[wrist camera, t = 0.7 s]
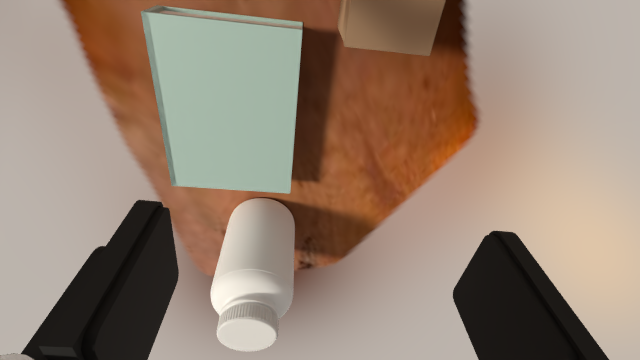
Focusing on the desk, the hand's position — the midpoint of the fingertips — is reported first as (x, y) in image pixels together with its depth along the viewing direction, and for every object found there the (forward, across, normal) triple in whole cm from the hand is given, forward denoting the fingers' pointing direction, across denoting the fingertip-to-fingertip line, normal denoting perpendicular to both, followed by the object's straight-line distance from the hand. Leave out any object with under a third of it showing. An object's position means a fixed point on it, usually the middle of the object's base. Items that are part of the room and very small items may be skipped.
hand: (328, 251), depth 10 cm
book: (+24, +7, +6) cm, 26 cm away
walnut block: (+24, -5, -5) cm, 25 cm away
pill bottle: (+24, +4, +21) cm, 32 cm away
